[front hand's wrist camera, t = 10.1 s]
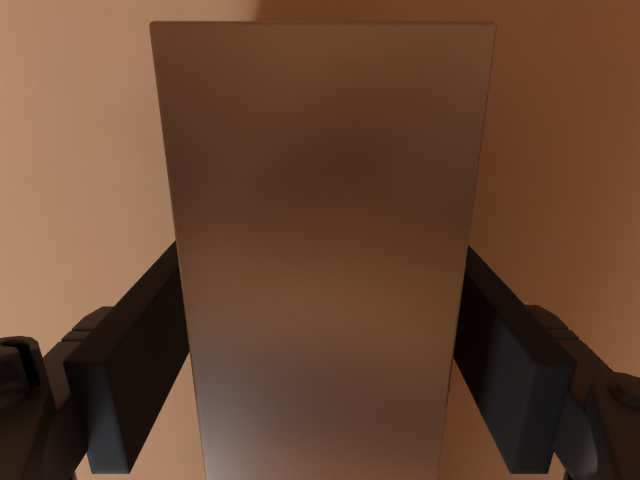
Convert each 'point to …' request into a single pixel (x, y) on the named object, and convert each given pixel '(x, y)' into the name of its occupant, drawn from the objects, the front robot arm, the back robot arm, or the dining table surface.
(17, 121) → the dining table surface
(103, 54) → the dining table surface
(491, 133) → the dining table surface
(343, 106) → the beam
